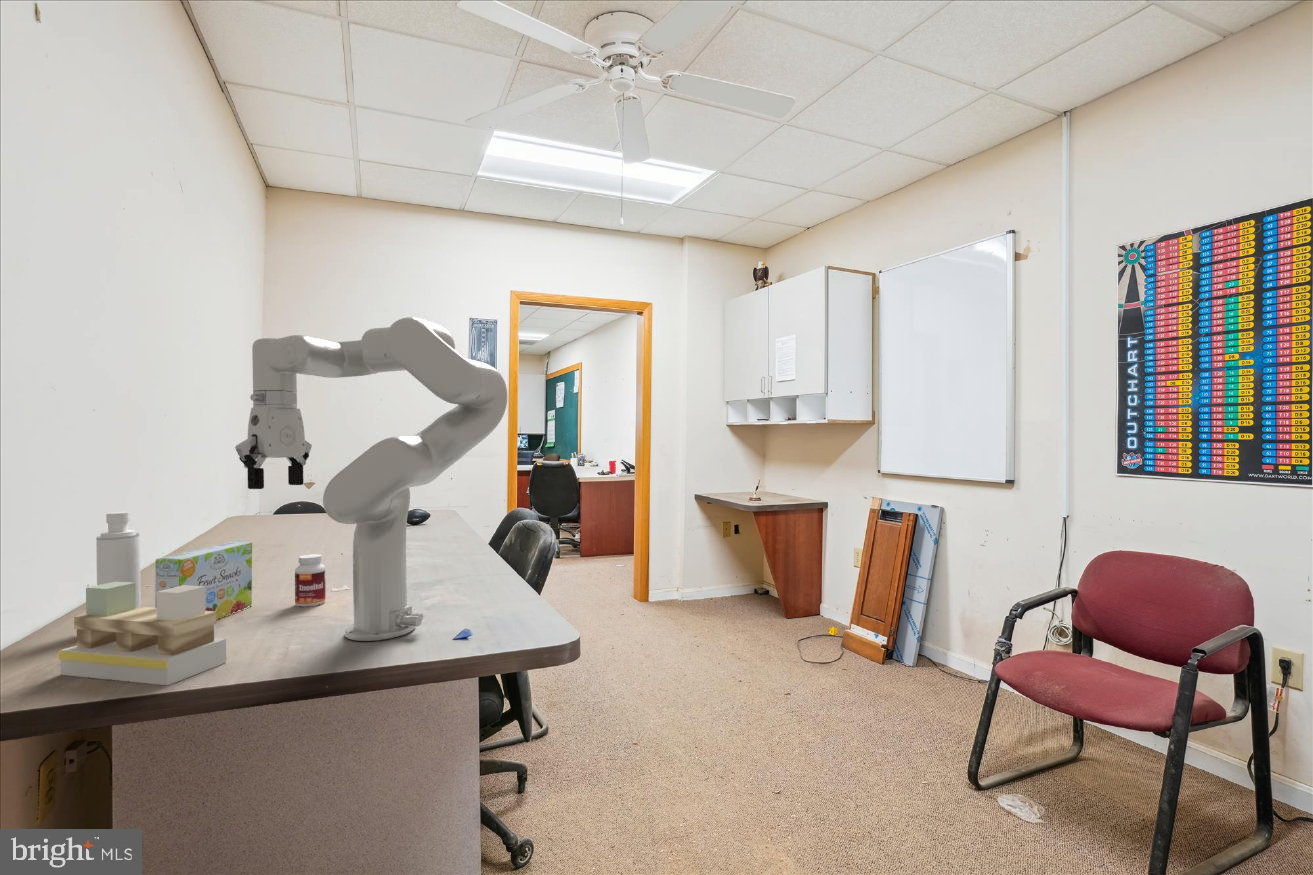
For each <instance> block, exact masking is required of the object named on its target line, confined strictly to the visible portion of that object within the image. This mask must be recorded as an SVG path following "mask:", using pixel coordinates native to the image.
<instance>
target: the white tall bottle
mask: <svg viewBox="0 0 1313 875" xmlns="http://www.w3.org/2000/svg"><path fill="white" fill-rule="evenodd" d="M105 516H106V521H105V522H106V524H107V531H105V532H101V533H100V535H99V536H96V541H95V542H96V544H95V545H96V586H97V585H101V584H106V583H111V582H132V583H135V603H136V607H142V605H141V604H142V600H141V599H142V598H141V597H142V596H141V591H142V590H141V543H140V540H141V539H140V538H141V537H140V533H139V532H136V530H134V529H129V522H130V511H114V512H107V513H106V514H105Z"/></svg>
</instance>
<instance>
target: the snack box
mask: <svg viewBox="0 0 1313 875" xmlns="http://www.w3.org/2000/svg"><path fill="white" fill-rule="evenodd" d="M154 570H155V571H154V572H155V576H154V577H155V578H154V579H155V580H154V582H155V584H154V588H155V589H154V590H155V591H154V593H155V594H154V603H155V604H154V608H157V597H156V592H158V591H162V590H166V589H170V588H174V587H178V586H182V585H189V586H205V611H214V612H216V620H217V621H219V620H220V619H219V618H222V617H224V616H227V615H229V614H232V613H233V612H237V611H238V610H242V609H244V608H247V607H248V606H251V605H253V603H252V601H253V598H252V595H253V590H252V589H253V588H252V587H253V584H252V583H253V542H252V541H228V542H225V543H221V544H216V545H211V546H208V547H202V548H199V549H195V550H194V549H193V550H190V551H185V552H181V553H177V554H172V555H169V556H168V555H167V556H164V557H159V558H157V559H155V569H154ZM247 609H248V608H247ZM242 611H243V610H242ZM237 613H238V612H237ZM232 615H233V614H232ZM229 616H230V615H229ZM227 617H228V616H227ZM224 618H225V617H224ZM218 619H219V620H218ZM222 619H223V618H222Z"/></svg>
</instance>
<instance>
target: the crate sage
mask: <svg viewBox="0 0 1313 875" xmlns="http://www.w3.org/2000/svg"><path fill="white" fill-rule="evenodd" d="M85 606H86V607H85V608H86V609H85V612H86V613H85V614H86V615H96V616H110V615H114V614H118V613H122V612H125V611H129V610H133V609H136V603H135V583H132V582H111V583H106V584H101V585H97V584H96V585H93V586H88V587H86V588H85Z"/></svg>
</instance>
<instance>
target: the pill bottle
mask: <svg viewBox="0 0 1313 875" xmlns="http://www.w3.org/2000/svg"><path fill="white" fill-rule="evenodd" d="M322 560H323V557H322V554H319V553H318V554H317V553H316V554H315V553H313V554H312V553H311V554H305V555H300V556H298V563H299V565H298V566H297V567H296V568H295V570H294V602H295V603H294V604H295V606H296V607H299V606H304V607H303V608H307V607H306V606H311V607H316V606H319V604H320V605H323V604H324V603H325V602H326V599H327V598H326V596H327V595H326V592H327V591H326V590H327V589H326V566H325V565H324V564H323V563H321V562H323V561H322Z"/></svg>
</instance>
